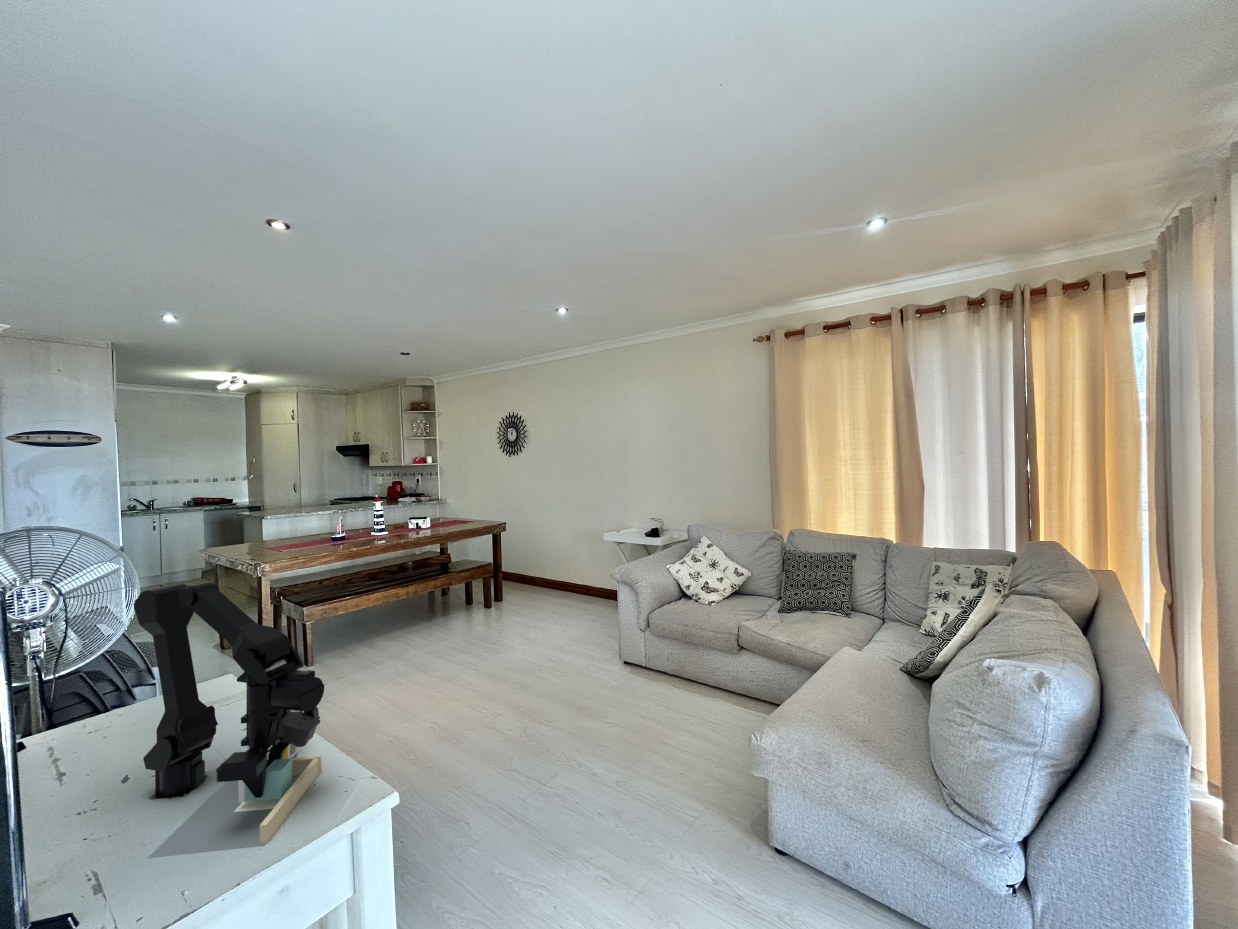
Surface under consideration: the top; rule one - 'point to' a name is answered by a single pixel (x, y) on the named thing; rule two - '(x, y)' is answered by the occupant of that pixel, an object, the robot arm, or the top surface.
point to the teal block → (271, 782)
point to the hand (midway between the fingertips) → (265, 789)
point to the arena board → (238, 816)
